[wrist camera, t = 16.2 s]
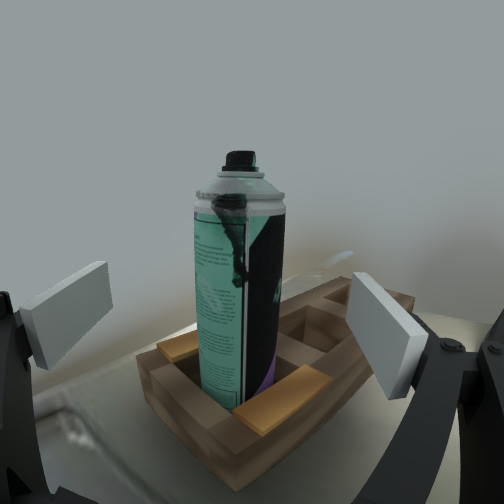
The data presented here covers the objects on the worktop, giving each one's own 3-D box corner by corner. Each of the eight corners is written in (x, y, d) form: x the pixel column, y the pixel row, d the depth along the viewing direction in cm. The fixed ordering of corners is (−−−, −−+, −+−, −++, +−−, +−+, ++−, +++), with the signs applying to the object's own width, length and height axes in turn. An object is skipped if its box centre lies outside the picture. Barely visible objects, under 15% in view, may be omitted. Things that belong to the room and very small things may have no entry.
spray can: (278, 430, 20) (303, 150, 15) (209, 441, 18) (199, 144, 13) (259, 389, 25) (270, 156, 20) (200, 396, 23) (192, 154, 18)
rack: (407, 330, 35) (416, 293, 33) (236, 492, 14) (235, 449, 12) (336, 307, 43) (340, 273, 42) (145, 400, 22) (134, 350, 21)
